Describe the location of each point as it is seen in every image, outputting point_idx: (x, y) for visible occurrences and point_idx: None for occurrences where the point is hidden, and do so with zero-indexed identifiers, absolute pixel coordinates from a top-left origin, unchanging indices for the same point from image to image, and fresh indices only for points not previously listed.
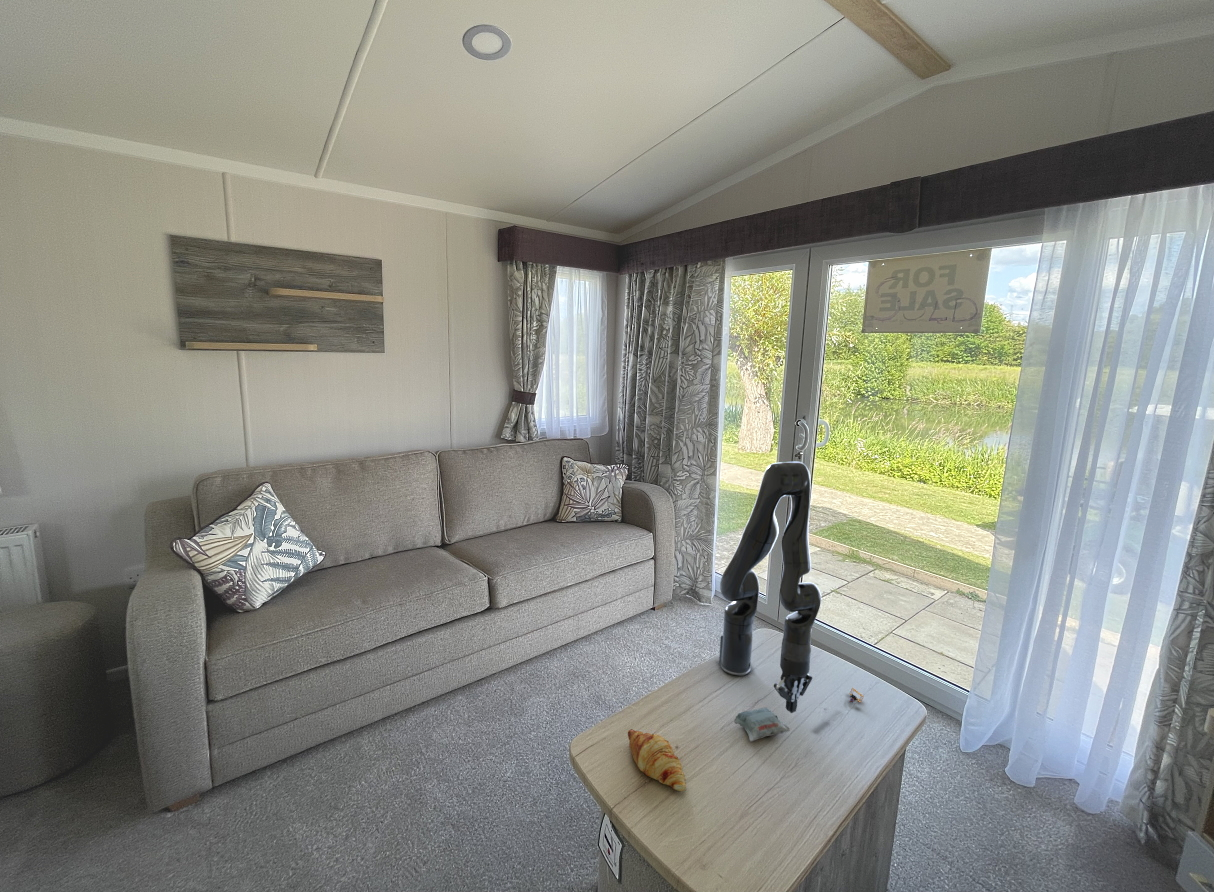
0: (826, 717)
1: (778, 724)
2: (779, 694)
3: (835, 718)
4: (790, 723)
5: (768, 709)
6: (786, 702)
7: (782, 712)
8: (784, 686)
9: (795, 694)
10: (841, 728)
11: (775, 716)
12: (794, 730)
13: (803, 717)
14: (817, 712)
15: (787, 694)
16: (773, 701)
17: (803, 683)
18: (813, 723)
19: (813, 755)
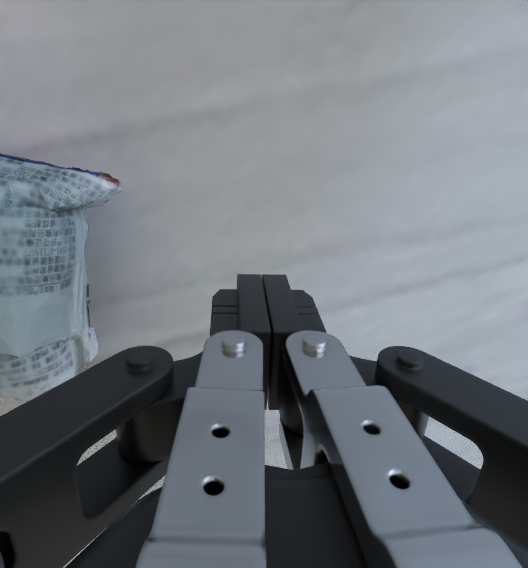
0: (484, 348)
1: (1, 395)
2: (71, 382)
3: (516, 375)
4: (232, 284)
5: (18, 241)
6: (210, 329)
7: (277, 172)
8: (181, 428)
9: (290, 452)
10: (457, 435)
11: (8, 354)
12: (203, 339)
13: (364, 285)
14: (488, 294)
15: (91, 537)
16: (330, 16)
17: (508, 521)
18: (366, 349)
19: (147, 493)
